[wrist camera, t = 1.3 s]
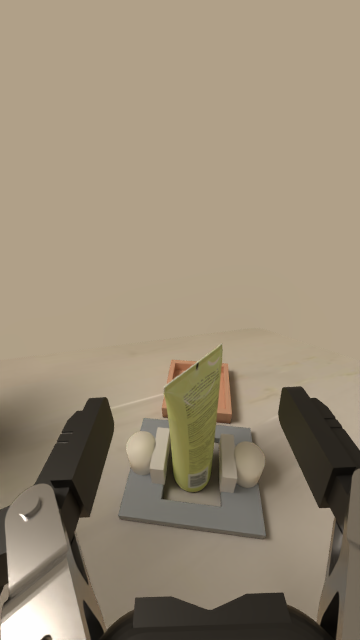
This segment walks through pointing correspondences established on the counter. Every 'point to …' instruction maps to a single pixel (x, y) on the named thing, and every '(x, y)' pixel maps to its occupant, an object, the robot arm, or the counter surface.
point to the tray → (224, 392)
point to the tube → (194, 420)
